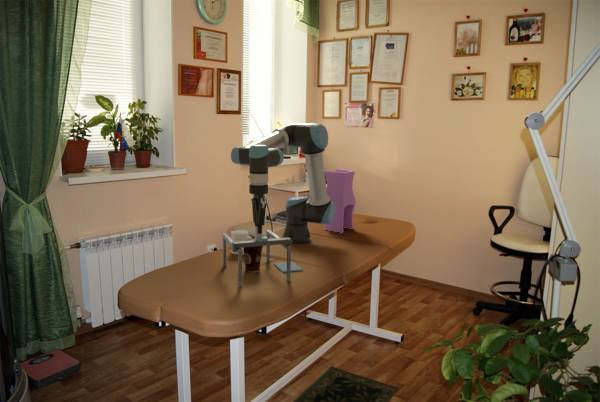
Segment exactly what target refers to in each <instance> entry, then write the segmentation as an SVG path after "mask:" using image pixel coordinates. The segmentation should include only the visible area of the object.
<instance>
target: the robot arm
mask: <svg viewBox="0 0 600 402" xmlns="http://www.w3.org/2000/svg"><path fill="white" fill-rule="evenodd" d="M328 144H329V133H328V130H327V128H326V126H325V125H323V124H322V123H307V122H305V123H304V122H303V123H300V122H299V123H298V122H295V123H294V122H293V123H287V124H285V125H282V126H280V127H278V128H276V129H273V130H272V132H271V133H269V134H267V135H266V136H263V137H262V138H260V139H258V140H256V141H253V142H252V143H250V144H248V145H245V146H234V147H233V148H232V149H231V152H230V159H231V162H232V163H233V164H234V165H240V166H241V165H242V166H249V172H248V173H249V175H248V176H247V177H248V179H249V182H248V183H249V187H248V188H249V190H248V191H249V194H251V195H253V196H252V198H251V199H250V201H251V208H252V220H253V223H254V240H257V237H263V226H265V224H266V223H265V222H266V221H265V220H266V208H267V202H266V199H265V196H264V195H267V194H268V193H269V185H268V183H269V168H273V167H278V166H279V165H281V164H282V163H283V162H284V160H285V155H284V152H283V150H281V149H284V148H287V147H289V148H290V147H292V148H300V151H301V154H302V155H304V157H305V167H306V172H307V181H308V190H309V197H308V196H294V197H290V198H287V200H286V204H285V227H284V229H283V234H282V238H288V237H289V238H290V239H291V241H292V244H303V243H308V242H310V241H311V237H312V236H311V232H310V228H309V227H308V223H311V224H312V223H313V224H321V225H325V224H330V223H331V222H332V220H333V218H334V215H335V210H336V206H335V204H334V203H333V202H331V200H330V197H329V196H328V195H327V181H326V176H325V172H324V171H325V168H324V167H325V166H324V157H323V156H324V155H323V154H324V152H325V150H326V148H327V147H328Z"/></svg>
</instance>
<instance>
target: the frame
mask: <svg viewBox="0 0 600 402" xmlns="http://www.w3.org/2000/svg"><path fill="white" fill-rule="evenodd" d="M265 233H266V237H267V238H268V239H275V238H281V237H280V236H278V235H277V234H276V233H274V232H273V231H272V230H271V229H266V230H265ZM232 242H234V241H233V240H232V239H231V236H230V235H228V233H226V232H223V233H222V268H226V267H227V243H228V245H229V246H231V244H232ZM280 245H281V246H282V247H283V248H284V249H286V262H287V272H286V282H287V283H290V282H291V273H292V272H291V262H292V261H291V260H292V247H291V245H290V244H280ZM265 247H266V253H265V254H266V256H265V257H266V259H265V260H266V263H267V264H269V263H271V261H270V259H271V258H270V257H271V255H270V254H271V245H267V246H265ZM236 252H237V253H238V256H237V260H238V264H237V270H238V271H237V273H238V274H237V275H238V276H237V278H238V279H237V280H238V284H237V285H238V288H243V255H244V254H243V250H242V249H241V248H236ZM242 254H243V255H242Z"/></svg>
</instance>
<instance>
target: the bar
mask: <svg viewBox="0 0 600 402" xmlns="http://www.w3.org/2000/svg"><path fill="white" fill-rule="evenodd" d="M248 240H249V239H248ZM281 244H290V245H291V248H293V243H292V241H291V239H290V238H289V237H288V238H283V237H280V238H275V239H273V238H270V239H268V238H267V236H262V237H257V240H255V239H253V240H249V241H237V242H232V244H231V245H230V251H231V250H232V251H233V252H236V248H243V247H255V246H263V247H267V245H270V246H276V245H278V246H279V245H281Z"/></svg>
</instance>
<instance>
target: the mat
mask: <svg viewBox="0 0 600 402" xmlns="http://www.w3.org/2000/svg"><path fill="white" fill-rule="evenodd" d="M273 265H274V266H275V267H276V268H277V269H278V270H279V271H281V272H282V273H287V261H283V262H275V263H273ZM294 271H295V272H303V268H302V267H300V266H299V265H297V263H296V262H294V261H291V273H292V272H293V273H294Z"/></svg>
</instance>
